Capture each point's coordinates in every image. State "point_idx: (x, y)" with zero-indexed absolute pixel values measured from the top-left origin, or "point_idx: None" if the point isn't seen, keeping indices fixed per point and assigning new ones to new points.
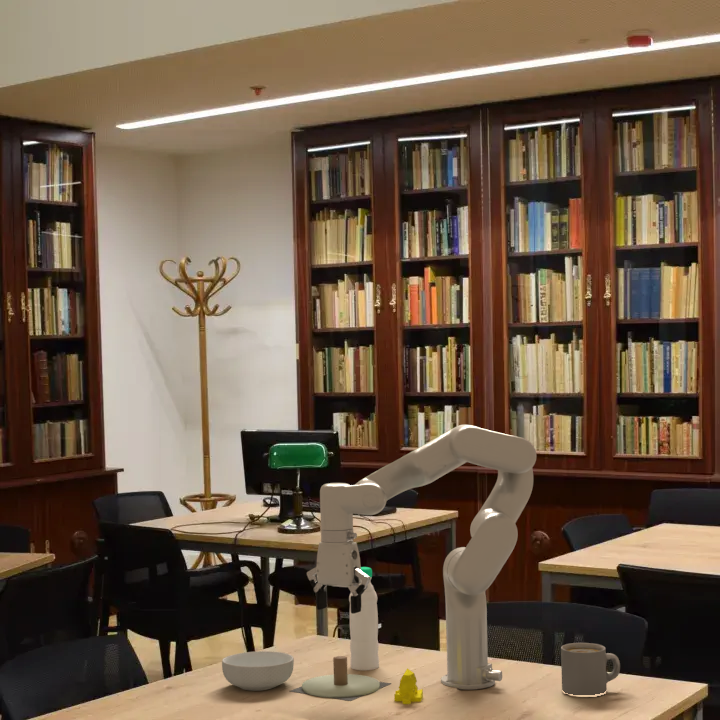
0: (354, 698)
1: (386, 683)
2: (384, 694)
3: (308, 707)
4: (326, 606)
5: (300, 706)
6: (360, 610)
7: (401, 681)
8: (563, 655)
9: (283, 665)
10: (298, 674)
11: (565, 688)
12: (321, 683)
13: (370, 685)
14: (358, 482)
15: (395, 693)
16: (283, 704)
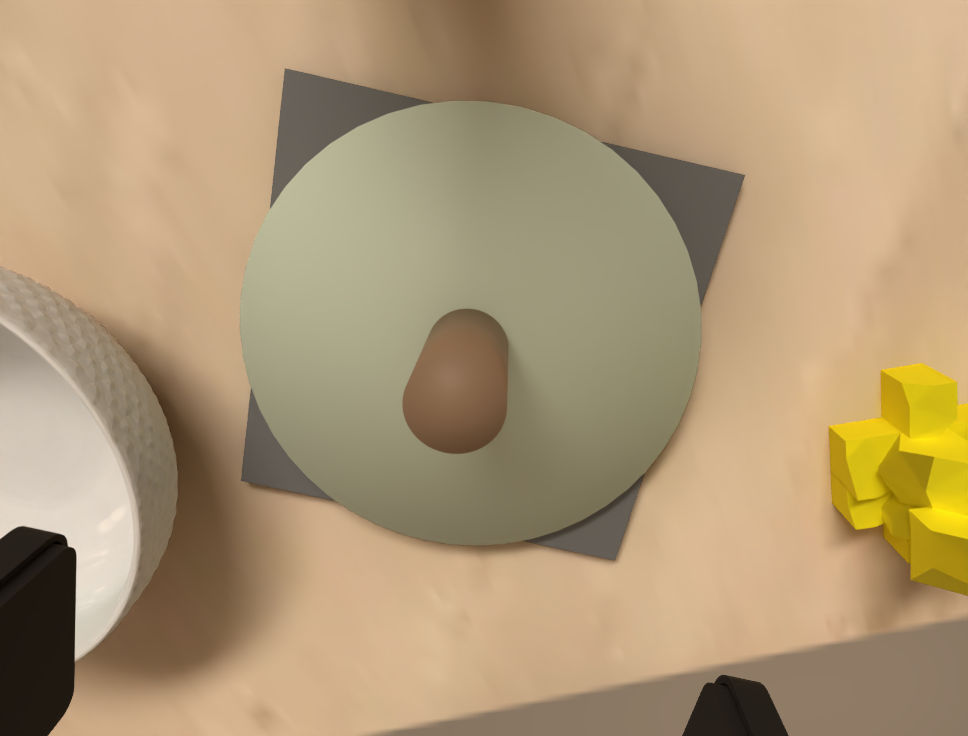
0: (621, 520)
1: (712, 186)
2: (739, 359)
3: (446, 642)
4: (65, 556)
5: (405, 637)
6: (758, 691)
7: (944, 573)
8: None
9: (144, 566)
10: (48, 63)
11: None
12: (357, 372)
13: (653, 337)
14: None
15: (852, 494)
16: (317, 628)
